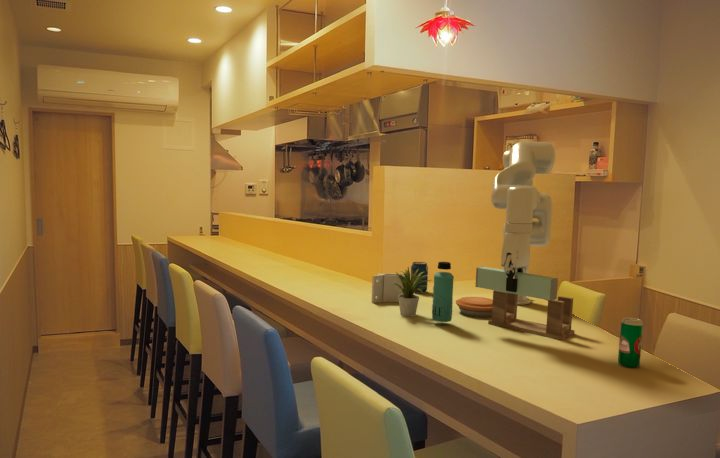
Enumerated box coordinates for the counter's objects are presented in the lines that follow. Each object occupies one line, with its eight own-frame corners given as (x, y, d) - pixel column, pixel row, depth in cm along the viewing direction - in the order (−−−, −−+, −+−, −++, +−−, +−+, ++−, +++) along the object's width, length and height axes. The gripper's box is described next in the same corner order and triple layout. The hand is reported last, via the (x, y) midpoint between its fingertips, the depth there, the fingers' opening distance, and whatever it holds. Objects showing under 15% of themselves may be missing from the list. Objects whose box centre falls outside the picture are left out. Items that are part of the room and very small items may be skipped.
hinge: (372, 303, 202) (373, 276, 201) (367, 300, 207) (368, 273, 206) (407, 302, 206) (408, 275, 205) (402, 299, 211) (403, 273, 210)
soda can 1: (429, 291, 227) (431, 262, 226) (422, 294, 221) (423, 264, 220) (414, 289, 231) (415, 261, 230) (407, 291, 225) (408, 262, 224)
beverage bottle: (453, 322, 177) (456, 261, 175) (449, 327, 171) (453, 264, 169) (433, 320, 179) (436, 259, 178) (429, 325, 173) (432, 262, 171)
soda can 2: (613, 362, 143) (617, 316, 142) (632, 362, 143) (635, 316, 142) (624, 368, 138) (628, 321, 137) (643, 368, 138) (647, 321, 137)
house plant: (416, 323, 175) (419, 272, 174) (379, 316, 183) (381, 267, 181) (435, 314, 187) (437, 267, 186) (399, 308, 195) (401, 262, 193)
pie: (501, 320, 183) (502, 305, 183) (454, 316, 186) (455, 302, 186) (499, 310, 198) (500, 296, 198) (455, 306, 202) (456, 293, 201)
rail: (481, 285, 172) (482, 266, 172) (556, 298, 157) (558, 278, 156) (475, 286, 170) (476, 267, 169) (551, 300, 154) (553, 279, 153)
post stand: (502, 318, 185) (504, 286, 184) (574, 333, 169) (576, 298, 169) (488, 323, 178) (490, 290, 177) (561, 339, 162) (564, 303, 161)
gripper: (518, 226, 170) (515, 284, 172) (493, 229, 157) (489, 292, 159) (542, 228, 165) (538, 288, 167) (517, 232, 152) (513, 297, 154)
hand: (514, 289), depth 163 cm, fingers closed on rail, 3 cm apart
